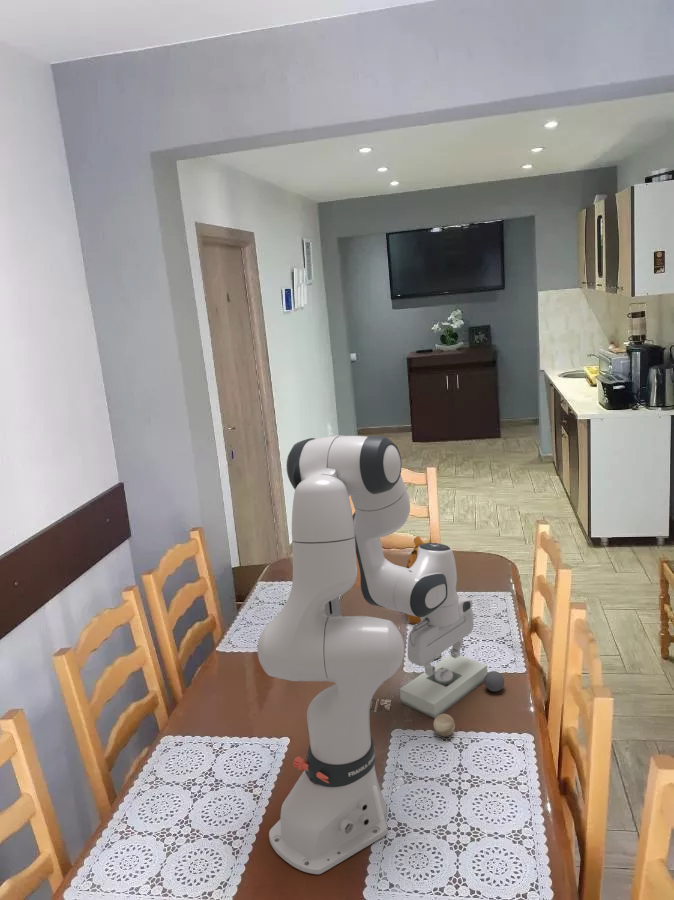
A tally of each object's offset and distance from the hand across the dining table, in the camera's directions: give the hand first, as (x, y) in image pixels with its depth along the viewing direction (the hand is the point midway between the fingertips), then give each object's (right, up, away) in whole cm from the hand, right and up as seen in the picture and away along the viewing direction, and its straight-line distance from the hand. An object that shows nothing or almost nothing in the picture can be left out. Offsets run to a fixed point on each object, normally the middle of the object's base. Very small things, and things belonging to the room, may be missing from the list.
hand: (443, 665), depth 167 cm
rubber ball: (+12, -4, -1) cm, 12 cm away
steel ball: (0, -3, +1) cm, 3 cm away
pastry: (-2, -3, +18) cm, 18 cm away
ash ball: (-2, -8, -15) cm, 17 cm away
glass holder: (-27, 0, +39) cm, 48 cm away
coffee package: (0, +2, +39) cm, 39 cm away
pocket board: (+1, -6, +2) cm, 7 cm away
